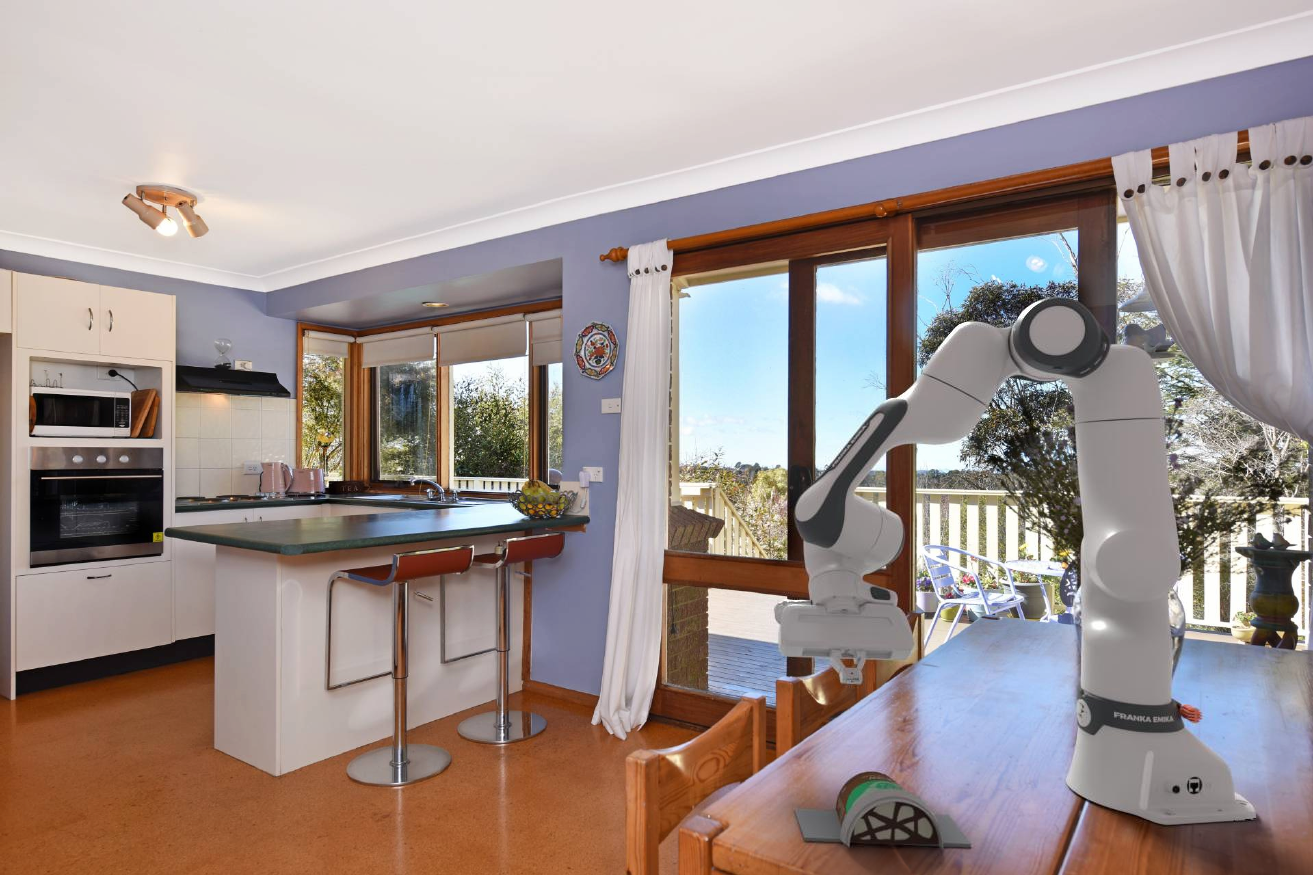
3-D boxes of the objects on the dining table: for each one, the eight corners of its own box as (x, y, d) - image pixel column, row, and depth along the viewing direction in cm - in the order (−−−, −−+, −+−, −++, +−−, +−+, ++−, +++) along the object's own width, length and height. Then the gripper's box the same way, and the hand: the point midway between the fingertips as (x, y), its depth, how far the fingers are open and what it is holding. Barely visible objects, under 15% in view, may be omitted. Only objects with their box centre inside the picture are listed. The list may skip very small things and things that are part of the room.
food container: (919, 763, 101) (948, 797, 91) (917, 810, 101) (947, 849, 91) (825, 760, 101) (845, 794, 91) (824, 808, 101) (844, 847, 91)
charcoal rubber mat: (948, 817, 100) (948, 814, 100) (970, 847, 92) (970, 843, 92) (794, 811, 100) (794, 808, 100) (804, 840, 93) (804, 837, 93)
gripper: (775, 588, 120) (783, 668, 110) (906, 592, 120) (926, 673, 110) (770, 610, 125) (778, 689, 115) (897, 615, 124) (915, 694, 114)
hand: (851, 681), depth 112 cm, fingers closed
